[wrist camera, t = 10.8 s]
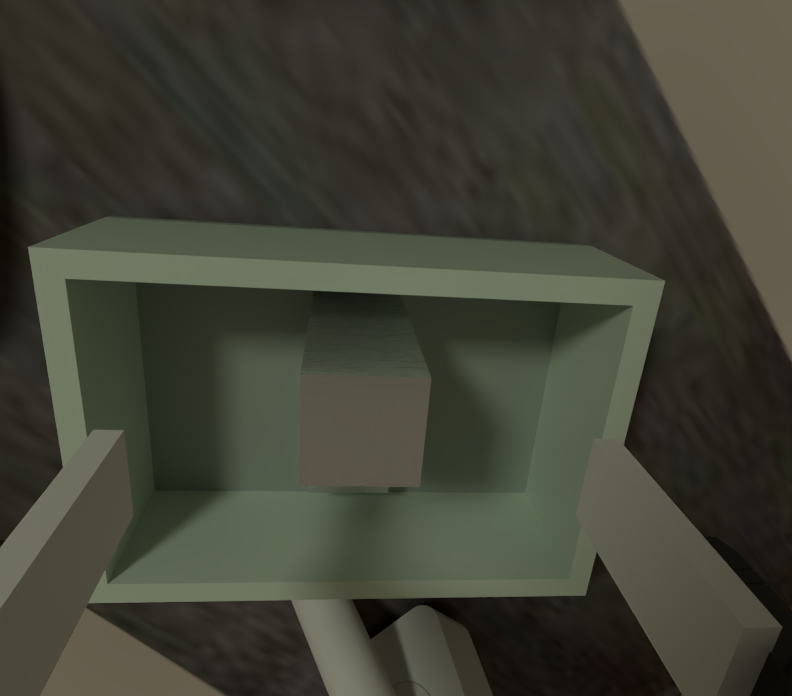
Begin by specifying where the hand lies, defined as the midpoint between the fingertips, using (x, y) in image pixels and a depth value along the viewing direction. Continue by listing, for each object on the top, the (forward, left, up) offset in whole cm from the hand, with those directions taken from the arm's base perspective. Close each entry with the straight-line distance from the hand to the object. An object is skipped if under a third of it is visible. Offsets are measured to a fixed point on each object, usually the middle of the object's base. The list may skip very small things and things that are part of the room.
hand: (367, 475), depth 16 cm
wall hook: (+19, +2, -13) cm, 23 cm away
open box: (+3, 0, -13) cm, 13 cm away
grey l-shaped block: (+3, 0, -12) cm, 12 cm away
